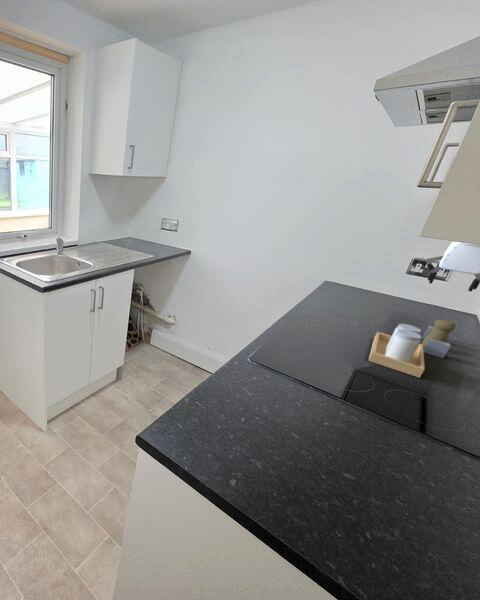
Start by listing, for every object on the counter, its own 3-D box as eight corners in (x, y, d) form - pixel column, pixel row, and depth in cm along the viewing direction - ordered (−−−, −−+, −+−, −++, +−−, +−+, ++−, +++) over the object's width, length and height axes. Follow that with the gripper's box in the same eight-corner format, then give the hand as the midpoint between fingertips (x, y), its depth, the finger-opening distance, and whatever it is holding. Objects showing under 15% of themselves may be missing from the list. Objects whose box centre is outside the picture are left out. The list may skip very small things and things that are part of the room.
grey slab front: (442, 355, 112) (449, 343, 110) (443, 358, 110) (450, 346, 108) (423, 349, 115) (429, 338, 113) (423, 352, 113) (430, 340, 111)
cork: (426, 348, 116) (441, 322, 112) (417, 341, 121) (431, 316, 117) (447, 352, 114) (463, 326, 110) (437, 344, 119) (452, 319, 115)
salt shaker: (406, 362, 105) (422, 334, 101) (406, 369, 101) (422, 340, 97) (383, 355, 109) (397, 327, 104) (382, 361, 105) (396, 333, 101)
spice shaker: (407, 355, 109) (422, 328, 105) (406, 362, 105) (422, 333, 101) (384, 348, 113) (398, 321, 109) (383, 354, 109) (397, 326, 105)
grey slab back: (440, 341, 122) (446, 330, 120) (440, 344, 120) (447, 332, 118) (422, 336, 125) (428, 325, 123) (422, 339, 123) (428, 328, 121)
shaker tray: (418, 352, 113) (423, 344, 112) (419, 377, 98) (424, 369, 97) (373, 339, 121) (377, 331, 120) (368, 360, 106) (372, 352, 105)
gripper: (515, 242, 101) (486, 291, 108) (438, 233, 113) (416, 278, 120) (518, 245, 97) (487, 296, 103) (437, 235, 108) (415, 281, 115)
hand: (449, 286), depth 111 cm, fingers open, 9 cm apart
